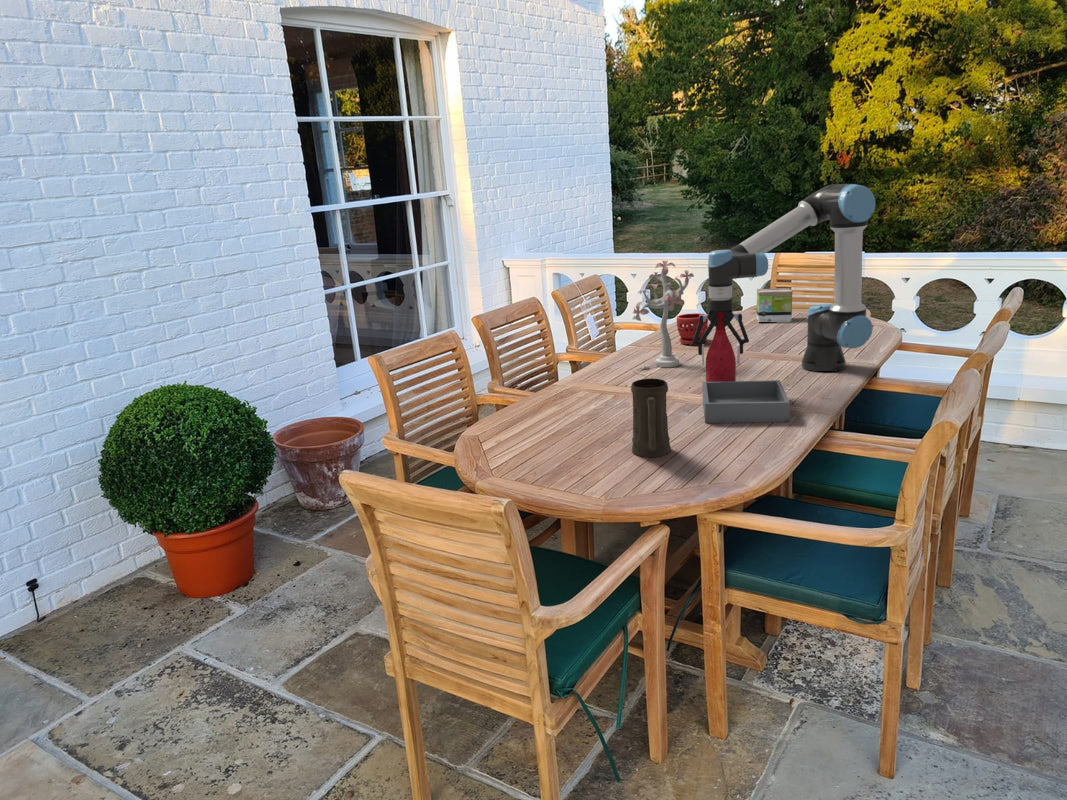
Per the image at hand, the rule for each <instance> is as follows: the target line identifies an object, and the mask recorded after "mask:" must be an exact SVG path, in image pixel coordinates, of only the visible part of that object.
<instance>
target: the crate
mask: <svg viewBox="0 0 1067 800" xmlns="http://www.w3.org/2000/svg"><path fill="white" fill-rule="evenodd" d="M790 404H791V402H790V400H789V397H788V396H787V393H786V392H785V388H784V386H783V384H782V382H781V380H779V379H778V380H777V379H776V380H775V379H774V380H773V379H771V380H738V381H737V380H736V381H723V382H706V381H702V405H703V414H704V423H705V424H721V423H722V424H723V423H724V424H725V423H726V424H727V423H729V424H731V423H732V424H733V423H734V424H736V423H739V424H740V423H789V422H790V418H791V417H790V413H791V411H790V410H791V409H790V408H791V405H790ZM786 421H787V422H786ZM788 421H789V422H788Z"/></svg>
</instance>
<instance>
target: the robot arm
mask: <svg viewBox="0 0 1067 800" xmlns="http://www.w3.org/2000/svg"><path fill="white" fill-rule="evenodd" d="M875 210H876V198H875V195H874V193H873V192H872V190H870V188H869V187H867V186H864V185H861V184H856V183H851V184H850V183H844V184H840V183H834V184H829V185H826V186H823V187H822V188H820V189H819V190H815V192H813V193H811V194H810V195H808V196H807V197H805V198H803V199H802V200H801V201H799V202H798V205H797V207H794V209H792V210H790V211H788V212H787V213H786V214H784V215H783V216H781V217H779V218H777V219H776V220H775V221H773V222H771V223H770V224H768V225H767V226H766V227H764V228H762V229H760V230H759V231H757V232H756V233H754V234H752V235H751V236H750V237H748V238H747V239H744V240H743V241H742V242H741V243H739V244H737V245H735V246H734V247H732V248H730V249H729V248H727V249H716V250H712V251H710V252H709V253H708V263H707V267H708V298H709V300H708V313H707V315H702V314H703V313H701V314H700V315H699V324H698V327H697V329H696V332H695V335H694V338H693V344H696V345H697V346H698V347H697V348H698V349H697V351H698V353H697V354H698V355H699V356H701V366H705V344H704V343H705V342H706V341H705V339H706V338H707V339H708V337H709V336H710V334H711V332H712V331H713V329H714V327H715V328H716V327H718V321H719V318H718V317H717V312H724V317H723V320H722V322H723V326H724V327H725V328H726V327H727V328H728V329H729V330H730V332H731V333H732V335H733V336H734V338H735V339H736V341H737V343H736V364H737V365H740V362H741V357H740V356H741V355H743V353H744V345H745V344H748V343H749V342H750V339H749V336H748V334H747V332H746V329H745V326H744V322H743V315H742V312H738V313H734V312H733V299H732V297H733V280H736V279H747V278H748V279H749V278H757V277H763V276H765V275H766V274H767V272H768V270H769V259H768V257H767V255H766V254H767V253H768V252H770V251H771V250H773V249H774V248H776V247H777V246H779V245H781V244H782V243H784V242H785V241H787V240H788V239H791V238H792V237H794V236H795V235H797V234H799V233H800V232H802V231H803V230H804V229H806V228H808V227H809V226H811V227H814V226H817V225H818V224H819V223H822V222H825V221H829V228H830V229H831V231H833V232H834V280H833V281H834V283H833V284H834V292H833V293H834V294H833V295H834V296H833V297H834V300H833V303H822V304H814V305H811V306H810V307H809V308H808V311H807V316H806V317H807V333H806V334H807V337H806V339H807V340H806V341H807V343H806V345H807V346H806V349H805V350H804V354H803V356H802V359H801V368H802V367H803V368H804V369H803V368H802V369H803V370H806V369H807V370H806V371H810V370H812V371H811V372H816V371H834V372H837V371H836V370H840V371H842V370H841V369H843V368H845V367H846V365H847V361H846V357H845V355H844V352H843V348H845V349H846V348H847V349H851V350H852V349H853V350H854V349H858V348H860V347H863V346H864V345H865V344H866V343H867V342H868V341H869V340H870V338H871V337H872V334H873V330H874V327H873V323H872V321H871V320H870V319H869V317H868V316H867V307H866V305H865V304H864V303H862V294H863V293H862V289H863V288H862V286H863V284H862V283H863V239H864V238H863V234H864V233H863V232H864V230H865V229H866V228H867V227H868V224H869V222H868V221H869V219H870V218H871V217H872V215H873V214H874V212H875ZM707 318H708V322H710V323H708V328H707V329H706V331H705V332H704V334H703V335H702V337H701V339H700V340H699V341H698V337H699V334H700V331H701V328H702V325H703V322H705V320H706V319H707ZM733 319H735V320H736V321H737V323H738V325H739V327H740V330H741V333H742V336H743V338H741V337H740V334H739V333H738V332H737V330H736V329H735V327H734V326H733V324H732V320H733ZM704 341H705V342H704ZM696 345H695V346H696ZM846 368H847V367H846ZM846 368H845V369H846ZM843 370H844V369H843Z"/></svg>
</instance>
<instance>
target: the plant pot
mask: <svg viewBox="0 0 1067 800" xmlns="http://www.w3.org/2000/svg"><path fill="white" fill-rule="evenodd" d="M700 314H702V315H708V313H698V312H697V313H696V312H695V313H694V312H693V313H684V314H679V315H677V316H676V329H677V332H678V335H679V336H680V337H679V342H680V343H681V344H683V345H687V344H689V346H690V345H691V346H692V345H693V346H694V345H695V346H696V344H693V338H694V335H695V332H696V329H697V327H698V324H699V315H700ZM708 326H709V319H708V318H707V319H706V320H705V322H703V325H702V328H701V331H700V334H699V337H698V341H699V340H700V339H701V337H702V335H703V334H704V332H705V331H706V329H707V328H708ZM707 340H708V337H707V338H706V339H705V341H704V343H705V342H706V341H707Z"/></svg>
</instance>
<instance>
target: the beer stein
mask: <svg viewBox="0 0 1067 800" xmlns="http://www.w3.org/2000/svg"><path fill="white" fill-rule="evenodd" d="M630 392H631V393H632V438H631V441H632V442H631V443H632V445H631V453H633V454H634V455H636V456H638V457H644V458H657V457H662V456H666V455H668V454H670V452H671V450H672V448H671V444H670V439H671V438H670V435H669V425H668V423H669V422H668V414H667V393H668V392H669V387H668V382H666V380H664V379H660V378H642V379H641V378H640V379H637V380H634V381H633V382H632V383H631V388H630Z"/></svg>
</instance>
